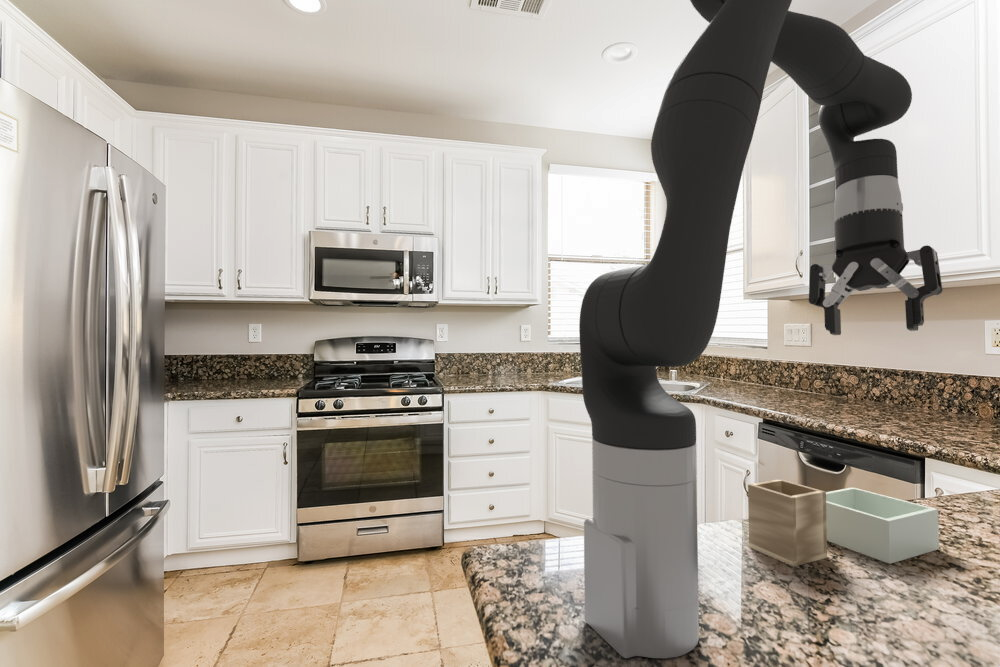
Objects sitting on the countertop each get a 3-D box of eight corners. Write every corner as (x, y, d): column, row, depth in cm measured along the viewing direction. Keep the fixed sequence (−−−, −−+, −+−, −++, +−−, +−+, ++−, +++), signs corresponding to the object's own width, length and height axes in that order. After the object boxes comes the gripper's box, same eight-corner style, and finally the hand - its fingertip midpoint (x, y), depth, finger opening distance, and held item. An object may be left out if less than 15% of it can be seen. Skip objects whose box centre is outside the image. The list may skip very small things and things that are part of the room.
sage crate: (889, 563, 57) (888, 521, 57) (805, 532, 66) (805, 496, 67) (939, 549, 61) (938, 509, 61) (853, 521, 70) (852, 487, 70)
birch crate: (793, 567, 57) (792, 498, 57) (749, 547, 62) (748, 484, 62) (827, 557, 59) (825, 491, 59) (781, 539, 64) (780, 479, 65)
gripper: (799, 222, 71) (801, 332, 68) (926, 193, 59) (934, 323, 57) (820, 236, 75) (823, 339, 73) (942, 210, 64) (950, 332, 62)
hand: (872, 332), depth 65 cm, fingers open, 8 cm apart
